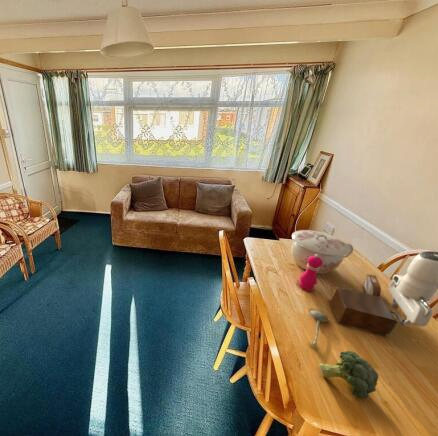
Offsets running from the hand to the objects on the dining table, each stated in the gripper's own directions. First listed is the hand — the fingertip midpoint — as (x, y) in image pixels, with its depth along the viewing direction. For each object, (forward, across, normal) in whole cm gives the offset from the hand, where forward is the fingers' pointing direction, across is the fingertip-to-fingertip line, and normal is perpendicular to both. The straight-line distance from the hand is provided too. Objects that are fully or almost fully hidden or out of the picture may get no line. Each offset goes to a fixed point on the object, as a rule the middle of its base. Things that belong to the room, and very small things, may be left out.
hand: (399, 315), depth 93 cm
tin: (+7, +21, +2) cm, 22 cm away
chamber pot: (+6, +36, +24) cm, 43 cm away
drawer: (+6, 0, +8) cm, 10 cm away
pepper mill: (+6, +14, +30) cm, 33 cm away
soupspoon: (+6, -14, +30) cm, 33 cm away
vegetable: (+6, -35, +25) cm, 44 cm away
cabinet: (+6, 0, +12) cm, 14 cm away
